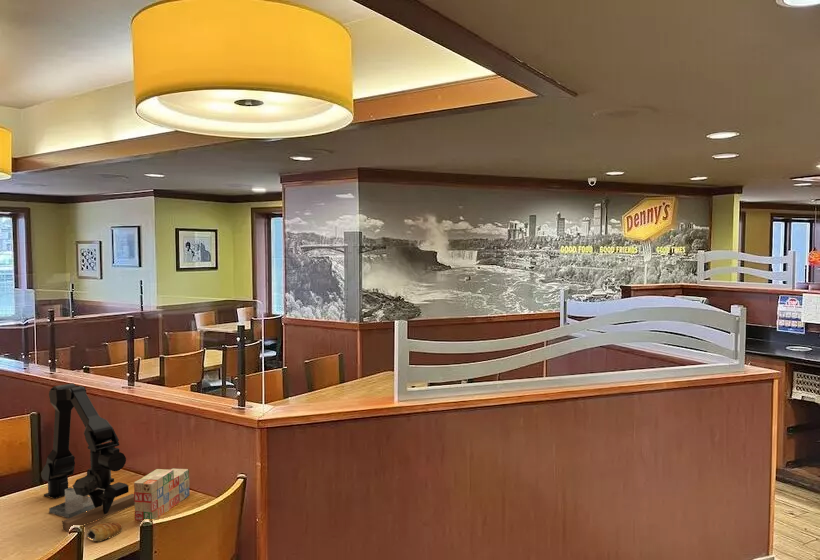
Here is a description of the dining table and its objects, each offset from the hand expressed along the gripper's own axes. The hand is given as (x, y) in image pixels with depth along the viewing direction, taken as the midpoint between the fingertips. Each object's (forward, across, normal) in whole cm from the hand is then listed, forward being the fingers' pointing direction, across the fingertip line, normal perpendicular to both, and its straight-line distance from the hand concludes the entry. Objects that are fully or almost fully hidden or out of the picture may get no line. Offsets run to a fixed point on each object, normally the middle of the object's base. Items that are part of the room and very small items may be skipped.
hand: (102, 512), depth 198 cm
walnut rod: (+1, 0, 0) cm, 1 cm away
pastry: (+2, +13, -9) cm, 16 cm away
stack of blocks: (+1, +12, +14) cm, 18 cm away
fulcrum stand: (+1, -12, 0) cm, 13 cm away
